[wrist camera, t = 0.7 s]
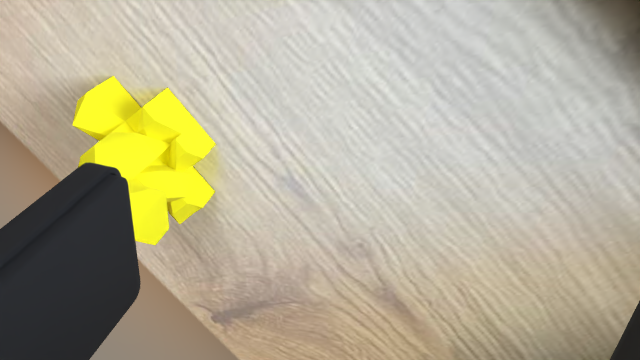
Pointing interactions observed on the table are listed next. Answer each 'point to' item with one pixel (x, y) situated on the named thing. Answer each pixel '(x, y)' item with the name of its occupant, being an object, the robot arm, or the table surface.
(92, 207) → the robot arm
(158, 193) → the yellow crystal cluster
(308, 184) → the table surface
